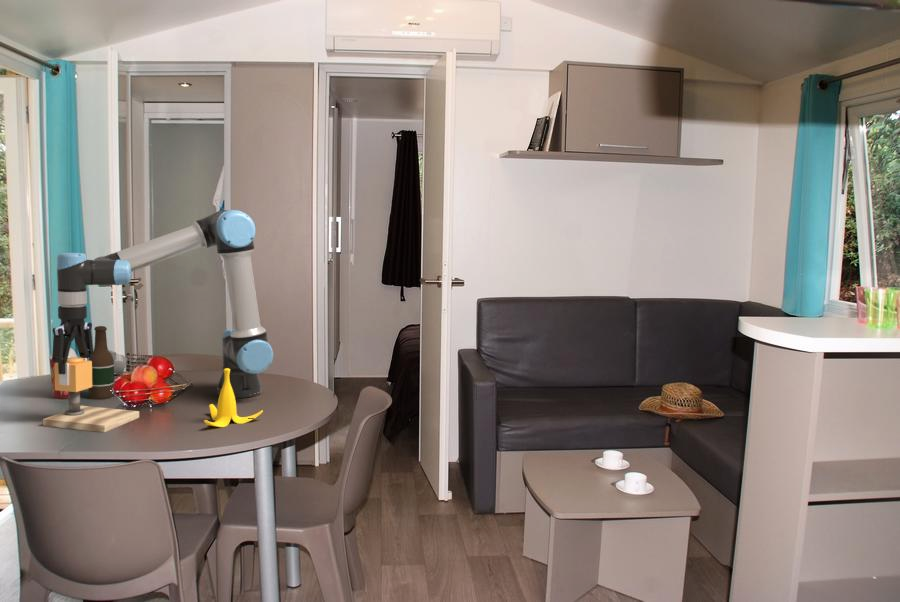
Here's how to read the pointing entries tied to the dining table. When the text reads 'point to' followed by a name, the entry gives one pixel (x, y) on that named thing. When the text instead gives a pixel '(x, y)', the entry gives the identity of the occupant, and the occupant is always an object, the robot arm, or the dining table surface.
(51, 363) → the smoothie
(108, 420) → the board
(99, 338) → the beer bottle
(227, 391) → the banana peel
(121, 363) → the gray wire basket
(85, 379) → the orange cube with nub
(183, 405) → the dining table surface
